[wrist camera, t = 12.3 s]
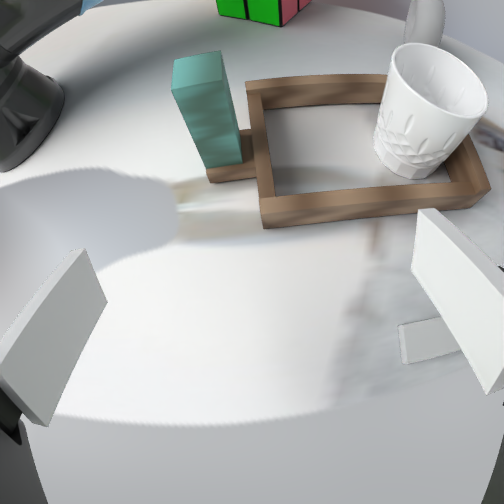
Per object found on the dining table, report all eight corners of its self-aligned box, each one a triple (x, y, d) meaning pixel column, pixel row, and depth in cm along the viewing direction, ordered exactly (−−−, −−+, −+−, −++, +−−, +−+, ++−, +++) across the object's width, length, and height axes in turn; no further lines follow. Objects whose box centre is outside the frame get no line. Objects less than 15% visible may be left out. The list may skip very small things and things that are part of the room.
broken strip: (401, 363, 21) (407, 364, 20) (397, 325, 22) (403, 324, 21) (553, 314, 20) (560, 312, 19) (549, 285, 21) (556, 283, 20)
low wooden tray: (213, 235, 25) (165, 162, 15) (208, 108, 29) (179, 21, 18) (469, 208, 24) (537, 144, 13) (423, 96, 27) (455, 20, 17)
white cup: (404, 107, 27) (432, 36, 18) (456, 164, 25) (503, 101, 16) (349, 135, 27) (369, 54, 17) (405, 200, 25) (453, 133, 15)
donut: (428, 80, 28) (454, 16, 19) (401, 70, 29) (422, 4, 19) (424, 38, 31) (441, -17, 21) (401, 30, 31) (414, -26, 22)
